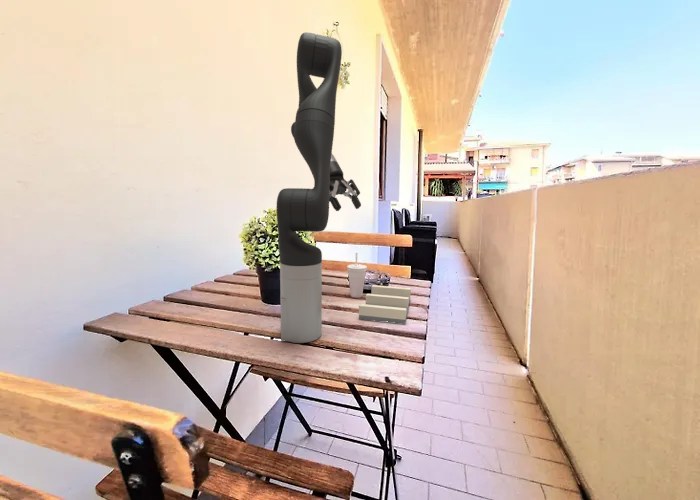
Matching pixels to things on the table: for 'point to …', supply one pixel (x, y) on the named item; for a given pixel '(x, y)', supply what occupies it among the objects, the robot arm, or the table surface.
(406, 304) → the rack
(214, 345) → the table surface
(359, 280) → the smoothie
